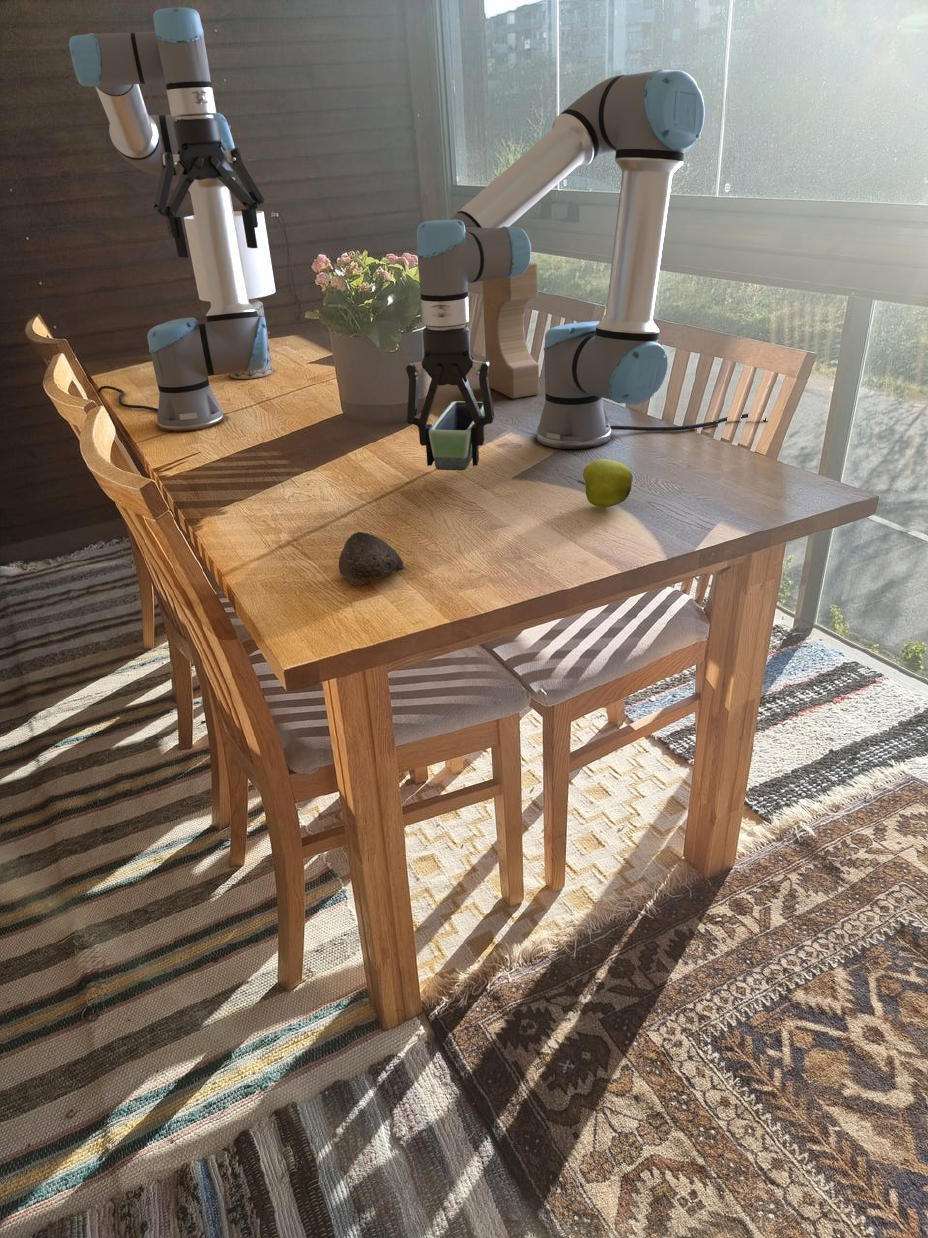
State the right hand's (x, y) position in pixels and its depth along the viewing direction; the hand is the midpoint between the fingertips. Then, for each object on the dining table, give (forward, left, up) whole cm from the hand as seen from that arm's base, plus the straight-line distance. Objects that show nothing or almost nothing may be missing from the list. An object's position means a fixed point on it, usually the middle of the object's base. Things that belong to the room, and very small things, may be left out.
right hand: (453, 462), depth 152 cm
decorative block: (-49, -57, -7) cm, 75 cm away
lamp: (-2, -124, -7) cm, 124 cm away
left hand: (+22, -43, +33) cm, 59 cm away
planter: (-6, -8, -2) cm, 10 cm away
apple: (-20, +17, -7) cm, 27 cm away
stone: (+25, +18, -7) cm, 32 cm away
